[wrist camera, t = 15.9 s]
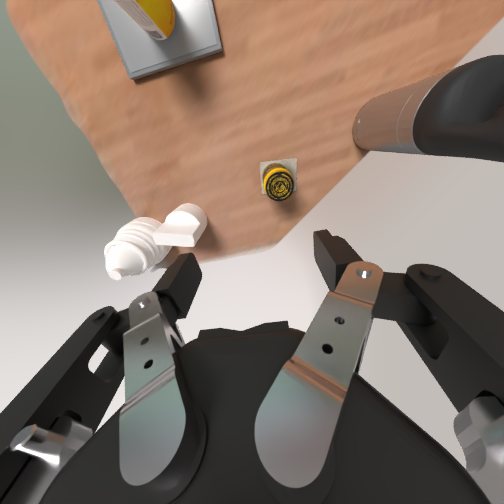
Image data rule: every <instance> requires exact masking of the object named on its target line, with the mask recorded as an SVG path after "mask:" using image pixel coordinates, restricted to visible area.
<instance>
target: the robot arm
mask: <svg viewBox="0 0 504 504" xmlns="http://www.w3.org/2000/svg"><path fill="white" fill-rule="evenodd" d="M353 138H354V141H355V143H356V145H357V146H358V147H360V148H361V149H364V150H372V151H383V152H396V153H408V154H423V155H435V156H452V157H466V158H476V159H484V160H491V161H498V162H504V55H492V56H487V57H484V58H480V59H477V60H475V61H472V62H469V63H466V64H464V65H462V66H459V67H456V68H454V69H451V70H448V71H446V72H443V73H440V74H438V75H435V76H432V77H430V78H427V79H424V80H422V81H419V82H416V83H413V84H411V85H408V86H405V87H403V88H400V89H397V90H394V91H392V92H389V93H386V94H383V95H381V96H378V97H376V98H374V99H372V100H370V101H369V102H368V103H366V104H365V105H364V107H363V108H362V109H361V110H360V112H359V113H358V115H357V117H356V119H355V122H354V125H353ZM313 237H314V256H315V261H316V263H317V265H318V267H319V269H320V271H321V273H322V276H323V278H324V280H325V282H326V284H327V286H328V288H329V290H330V291H329V292H328V294H327V295H326V297H325V299H324V301H323V303H322V304H321V307H320V308H319V310H318V312H317V313H316V315H315V317H314V319H313V321H312V322H311V324H310V326H309V328H308V330H307V332H306V333H305V332H303V331H300V330H297V329H293V328H289V326H288V321H280V322H272V323H264V324H261V325H258V326H255V327H253V328H250V329H247V330H244V331H237V330H230V329H223V328H217V329H207V330H200V332H199V335H198V338H197V339H194V340H193V341H190V342H189V343H187V344H185V343H184V340H183V337H182V335H181V332H180V330H179V327H178V325H177V324H176V321H177V319H182V318H186V316H187V314H188V311H189V309H190V306H191V304H192V301H193V299H194V297H195V294H196V292H197V289H198V287H199V284H200V282H201V279H202V272H201V269H200V267H199V265H198V262H197V260H196V258H195V256H194V254H193V253H185V254H180V255H179V257H178V258H177V260H176V261H175V262H174V263H173V264H172V265H171V266H170V267H168V269H167V270H166V271H165V274H163V276H162V278H161V279H160V280H159V281H158V283H157V284H156V286H155V287H154V288H153V290H152V291H151V292H147V293H144V294H142V295H140V296H138V297H137V298H136V299H135V300H133V302H132V303H131V304H130V306H129V308H127V309H125V310H122V311H119V312H117V311H116V310H115V309H114V308H113V307H112V306H108V307H104V308H102V309H100V310H98V311H96V312H94V313H93V314H92V315H90V316H89V317H88V318H87V319H86V320H85V321H84V322H83V323H82V325H81V326H80V327H79V328H78V329H77V330H76V331H75V332H74V333H73V335H71V337H70V338H69V339H68V340H67V341H66V342H65V343H64V344H63V345H62V346H61V348H60V349H59V350H58V351H57V352H56V353H55V354H54V355H53V356H52V357H51V359H50V360H49V361H48V362H47V363H46V364H45V365H44V366H43V367H42V368H41V369H40V371H39V372H38V373H37V374H36V375H35V376H34V377H33V378H32V380H31V381H30V382H29V383H28V384H27V385H26V386H25V387H24V388H23V389H22V390H21V391H20V393H19V394H18V395H17V396H16V397H15V398H14V399H13V400H12V401H11V402H10V404H9V405H8V406H7V407H6V408H5V409H4V410H3V411H2V412H1V413H0V504H504V312H503V311H502V310H500V309H499V308H498V307H496V306H495V305H494V304H492V303H491V302H490V301H488V300H487V299H486V298H484V297H483V296H482V295H480V294H479V293H478V292H476V291H475V290H474V289H472V288H471V287H470V286H468V285H467V284H465V283H464V282H463V281H461V280H460V279H459V278H458V277H456V276H455V275H453V274H452V273H451V272H449V271H448V270H446V269H444V268H441V267H438V266H434V265H429V264H415V265H411V266H410V267H408V269H407V272H406V274H404V273H389V272H383V270H382V269H381V268H380V267H379V266H378V265H376V264H374V263H370V262H365V261H363V260H362V258H361V257H360V256H359V255H358V254H357V253H356V252H355V251H354V249H352V247H351V246H350V245H349V244H348V243H347V241H346V240H345V239H343V238H341V237H339V236H332V235H331V234H330V233H329V231H328V230H320V231H315V232H314V235H313ZM374 318H380V319H387V320H393V321H396V322H397V323H398V325H399V326H400V328H401V329H402V331H403V332H404V334H405V335H406V337H407V338H408V339H409V341H410V342H411V344H412V345H413V347H414V348H415V350H416V351H417V353H418V354H419V355H420V357H421V358H422V360H423V361H424V363H425V364H426V365H427V367H428V369H429V370H430V372H431V373H432V374H433V376H434V377H435V379H436V380H437V381H438V383H439V385H440V386H441V388H442V389H443V391H444V392H445V393H446V395H447V396H448V398H449V399H450V401H451V402H452V404H453V405H454V407H455V408H456V409H457V411H458V412H459V414H458V415H457V416H456V417H455V419H454V431H455V434H456V437H457V439H458V441H459V443H460V445H461V447H462V449H463V451H464V454H465V458H466V469H465V468H464V467H463V466H462V465H461V464H460V463H459V462H458V461H457V460H456V459H455V458H454V457H453V456H452V455H451V454H450V453H449V452H448V451H447V450H446V449H445V448H444V447H443V446H442V445H440V444H439V443H438V442H437V441H436V440H435V439H433V438H432V437H431V436H430V435H429V434H428V433H426V432H425V431H424V430H423V429H422V428H421V427H419V426H418V425H417V424H416V423H415V422H413V421H412V420H411V419H410V418H409V417H408V416H406V415H405V414H404V413H403V412H402V411H401V410H399V409H398V408H397V407H396V406H395V405H394V404H392V403H391V402H390V401H389V400H388V399H386V398H385V397H384V396H383V395H382V394H381V393H379V392H378V391H377V390H376V389H375V388H374V387H372V386H371V385H370V384H369V383H368V382H366V381H365V380H364V379H363V378H362V377H361V376H360V375H358V374H359V370H360V366H361V363H362V358H363V355H364V351H365V347H366V343H367V340H368V336H369V333H370V329H371V326H372V322H373V319H374ZM100 344H102V345H103V346H104V347H106V348H107V349H108V350H109V352H108V353H107V354H106V356H105V357H104V359H103V360H102V362H101V363H100V365H99V367H98V368H97V370H96V371H95V373H92V372H91V371H90V370H89V368H88V363H89V360H90V358H91V357H92V355H93V354H94V352H95V351H96V350H97V349H98V347H99V346H100ZM124 376H125V403H124V404H123V406H122V407H120V408H119V409H118V410H117V412H115V414H114V415H113V416H112V417H111V418H110V419H109V420H108V421H107V422H106V423H105V424H104V425H103V426H102V427H101V428H100V429H99V430H98V431H97V432H96V433H95V431H96V430H97V428H98V426H99V424H100V422H101V420H102V418H103V416H104V414H105V412H106V410H107V408H108V406H109V405H110V403H111V401H112V399H113V397H114V395H115V393H116V391H117V389H118V388H119V386H120V384H121V382H122V380H123V378H124ZM94 433H95V434H94Z"/></svg>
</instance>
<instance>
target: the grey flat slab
mask: <svg viewBox="0 0 504 504" xmlns="http://www.w3.org/2000/svg"><path fill="white" fill-rule="evenodd" d="M97 2H98V4H99V6H100V9H101V11H102V13H103V16H104V18H105V21H106V23H107V25H108V28H109V30H110V33H111V35H112V37H113V40H114V42H115V44H116V47H117V49H118V52H119V54H120V56H121V59H122V61H123V64H124V66H125V68H126V71H127V73H128V75H129V78H130V79H132V80H136V79H139V78H142V77H145V76H148V75H151V74H154V73H157V72H160V71H164V70H167V69H170V68H173V67H176V66H179V65H182V64H185V63H188V62H191V61H194V60H197V59H200V58H203V57H206V56H210V55H213V54H216V53H219V52H222V51H223V50H222V45H221V41H220V36H219V31H218V26H217V21H216V16H215V12H214V7H213V2H212V0H172V3H173V7H174V11H175V25H174V29H173V31H172V33H171V35H170V36H169V37H168V38H167V39H164V40H157V39H154V38H152V37H151V36H150V35H149V34H148V33H147V32H146V31H145V30H144V29H143V28H141V27H140V26H139V25H138V24H137V23H136V22H135V21H134V20H133V19H132V18H131V17H130V16H129V15H128V14H127V13H126V12H125V11H124V10H123V9H122V8H121V7H120V6H119V5H118V4H117V3H116V2H115V1H114V0H97Z"/></svg>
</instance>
